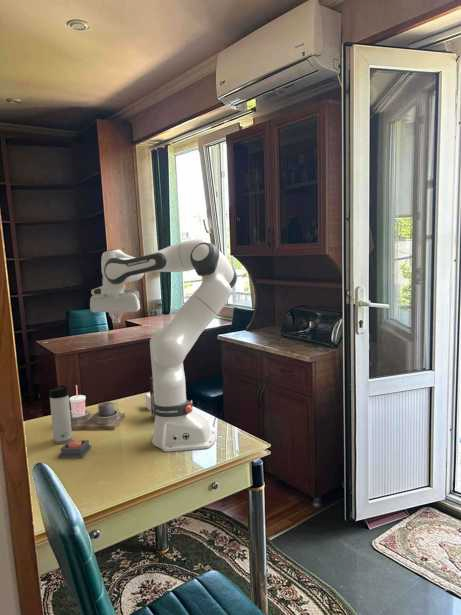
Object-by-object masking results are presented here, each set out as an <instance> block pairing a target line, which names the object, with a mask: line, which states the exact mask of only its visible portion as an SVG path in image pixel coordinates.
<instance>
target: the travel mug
mask: <svg viewBox="0 0 461 615" xmlns="http://www.w3.org/2000/svg"><path fill="white" fill-rule="evenodd" d="M69 398H70V397H69V386H68V385H58V386H55V387H53V388H51V389H49V404H50V414H51V415H50V416H51V428H52V437H53V443H55V444H57V445H63V444H66V443H67V442H68V441H69V440H73V434H72V431H73V430H71V419H70V411H71V410H70V409H71V406H70V400H69Z"/></svg>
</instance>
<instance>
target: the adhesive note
mask: <svg viewBox="0 0 461 615" xmlns="http://www.w3.org/2000/svg"><path fill="white" fill-rule="evenodd" d="M145 401H146V402H145V405H146V408H147V410H149V412H151V398H150V392H149V393H145Z"/></svg>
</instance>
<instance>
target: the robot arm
mask: <svg viewBox="0 0 461 615" xmlns="http://www.w3.org/2000/svg"><path fill="white" fill-rule="evenodd" d="M100 264H101V274H102V277H103V278H102V285H101V286H98V287H96V288H93V289H91V290H90V291H91V295H92V296H91V297H90V299H89V300H90V301H89V308H90V309H89V310H90V312H91V313H108V315H109V317H110V318H111V322H112V324H114V323H115V324H117V323H118V324H119V323H121V317H122V316H123V313H124V312H125V313H130V312H138V311H140V309H141V304H140V303H141V302H140V292H139V290H137V289H136V288H126V284H125V283H130V282H136V281H139V280H141V279H142V278H144V275H145V274H147V273H155V272H162V273H181V272H189V271H193V270H194V271H195V272H196V275H197V276H199V277H201V280H202V281H201V284H200V286H199V287H198V288H197V289H196V290H195V291H194V292H193V294H192V295H191V296H190V297H188V299H187V300H186V301H185V302H184V303H183V304H182V306H180V308H179V309H178V310H177V311H176V314H174V317H173V318H172V320H171V321H170V323H169V324H168V325H167V326H166V327H163V328H160V329H157V330H156V331H155V332H154V333H152V335H151V337H150V340H149V347H150V348H149V350H150V352H149V353H150V360H151V361H150V365H151V373H152V374H151V376H152V377H153V387H154V403H153V415H154V417H153V418H154V424H153V426H154V427H153V433H152V434H153V435H152V439H151V443H152V444H153V445H154V447H157V448H160V449H161V450H162V451H163V452H178V451H188V450H189V451H191V450H201V449H209V448H211V447H212V446H213V445H215V443H216V440H217V433H216V431H215V430H213V429H210V425H209V421H208V419H206V418H205V417H204V416H202V415H201V414H199V413H198V412H196V411H195V410H193V400H192V399H191V400H188V399H187V393H186V392H187V387H186V386H187V385H186V376H185V375H186V374H185V370H184V360H185V359H186V357H187V355H188V354H189V352H190V351H191V349H192V348H193V346H194V345H195V343H197V341H198V339H199V337H200V335H201V334H202V333H203V332H204V331H205V330H206V328H208V326H209V325H210V324H211V323H212V322H213V320H214V319H215V318H216V317H217V315H219V313H220V312H221V310H223V308H224V307H225V305H226V304H227V302H228V301H229V299H230V297H231V295H232V293H233V292H232V289H233V287H234V286H235V285H236V283H237V279H238V278H237V272H236V270H235V269H234V267H233V266H232V265H231V263H230V261H229V260H228V258H227V257H226V255H224V254H223V253H222V252H221V250H219V248H218V247H217V246H216V245H215V244H213V243H212V242H211V241H210V240H208V239H204V238H198V239H197V238H196V239H190V240H189V239H188V240H186V241H185V240H184V241H180V242H178V243H175V244H172V245H169V246H166V247H165V248H162V249H160V250H159V249H158V251H154V252H152V253H149V254H146V255H141V256H138V257H134V256H132V255H128V254H126V252H125V253H124V252H123V251H122V250H121V249H118V248H116V249H115V248H114V249H108V250H105V251H103V253H102V255H101V262H100ZM115 313H117V315H118V316H117V317H115V315H114V314H115Z"/></svg>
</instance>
